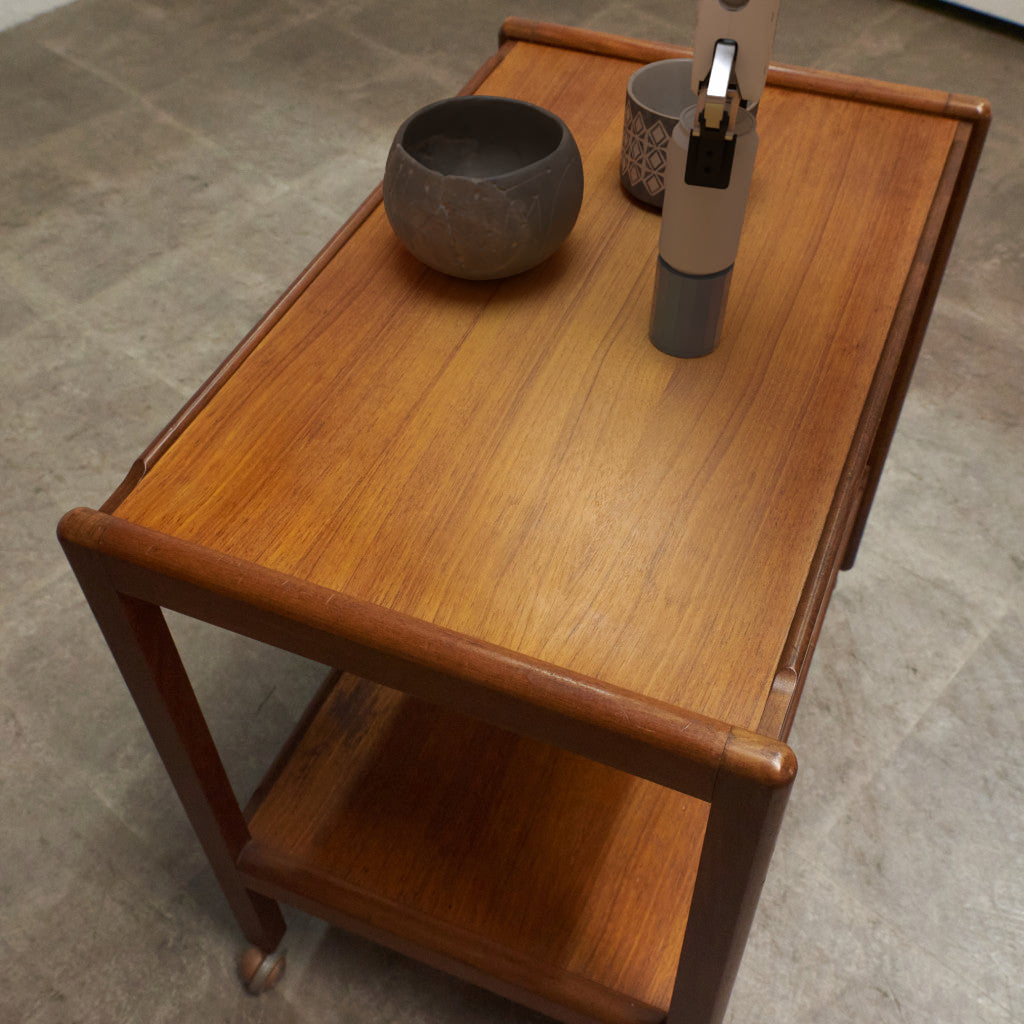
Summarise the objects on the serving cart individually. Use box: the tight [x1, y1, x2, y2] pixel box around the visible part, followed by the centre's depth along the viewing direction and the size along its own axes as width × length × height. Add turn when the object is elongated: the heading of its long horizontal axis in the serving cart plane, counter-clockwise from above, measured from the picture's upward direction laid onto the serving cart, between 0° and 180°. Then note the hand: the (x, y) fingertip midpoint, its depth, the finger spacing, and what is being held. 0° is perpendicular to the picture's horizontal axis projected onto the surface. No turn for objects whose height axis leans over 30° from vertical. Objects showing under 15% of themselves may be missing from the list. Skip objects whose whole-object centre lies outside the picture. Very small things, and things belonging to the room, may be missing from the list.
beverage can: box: [657, 103, 760, 275], centre depth 82 cm, size 6×6×12 cm
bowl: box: [382, 94, 585, 281], centre depth 96 cm, size 18×18×13 cm
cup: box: [648, 252, 736, 359], centre depth 90 cm, size 6×6×8 cm
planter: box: [618, 57, 761, 209], centre depth 105 cm, size 13×13×10 cm
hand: (715, 151), depth 80 cm, fingers open, 9 cm apart
